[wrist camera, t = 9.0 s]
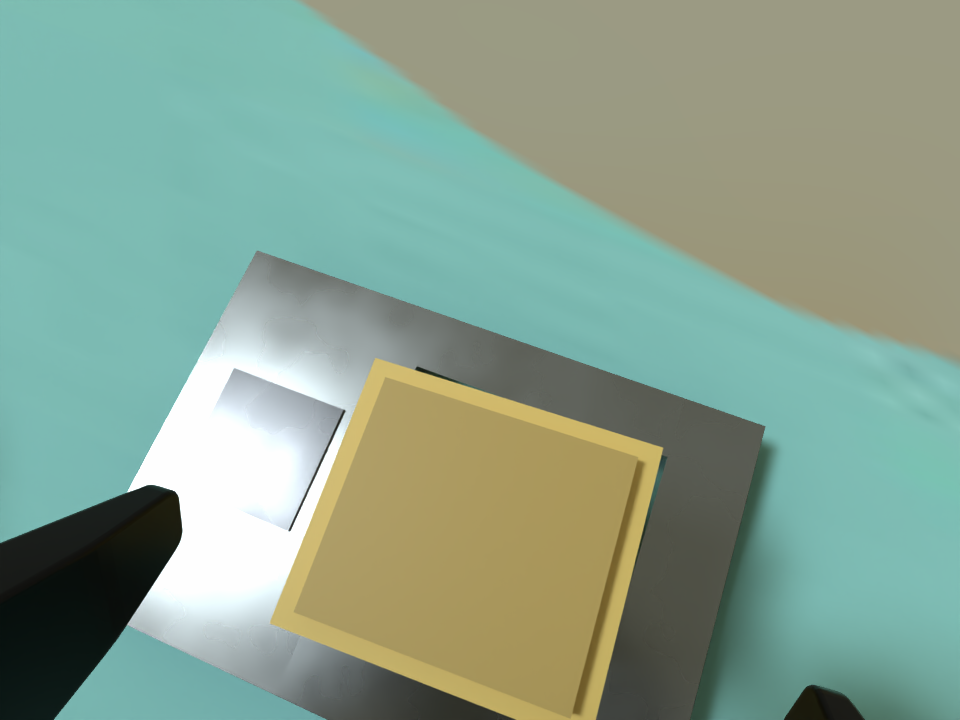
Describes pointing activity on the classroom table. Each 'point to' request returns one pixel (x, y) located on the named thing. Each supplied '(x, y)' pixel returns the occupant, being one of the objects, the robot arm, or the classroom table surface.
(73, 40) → the classroom table surface
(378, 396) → the yellow square block
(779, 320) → the classroom table surface
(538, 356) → the grey metal flat frame
